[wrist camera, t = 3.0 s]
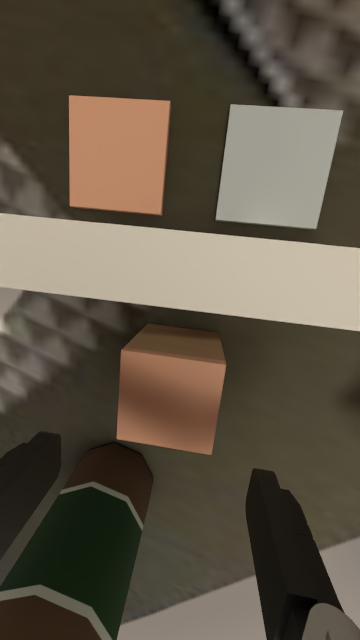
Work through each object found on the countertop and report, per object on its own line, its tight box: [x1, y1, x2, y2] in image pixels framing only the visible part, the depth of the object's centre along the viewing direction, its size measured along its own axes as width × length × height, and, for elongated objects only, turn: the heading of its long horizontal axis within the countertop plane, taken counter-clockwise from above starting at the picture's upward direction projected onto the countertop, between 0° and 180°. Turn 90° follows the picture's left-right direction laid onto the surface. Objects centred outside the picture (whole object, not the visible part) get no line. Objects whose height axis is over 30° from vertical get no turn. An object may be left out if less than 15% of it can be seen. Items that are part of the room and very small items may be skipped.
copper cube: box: [117, 323, 226, 455], centre depth 17 cm, size 6×6×7 cm
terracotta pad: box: [69, 95, 171, 216], centre depth 17 cm, size 7×7×1 cm
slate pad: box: [215, 104, 343, 230], centre depth 16 cm, size 7×7×1 cm
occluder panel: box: [0, 213, 360, 331], centre depth 11 cm, size 5×16×14 cm, turn 84°
